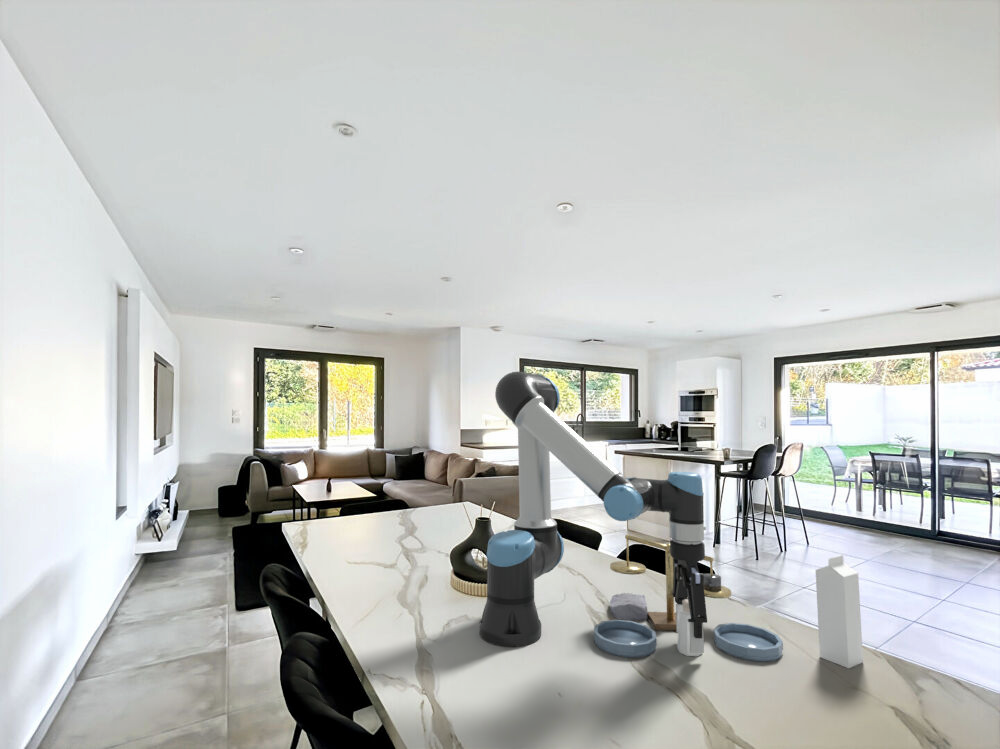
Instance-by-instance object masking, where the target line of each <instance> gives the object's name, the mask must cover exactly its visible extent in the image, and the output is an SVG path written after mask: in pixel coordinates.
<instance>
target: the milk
mask: <svg viewBox="0 0 1000 749" xmlns="http://www.w3.org/2000/svg"><path fill="white" fill-rule="evenodd" d="M859 579H860V578H859V572H857V571H856V570H855V569H854V568H852V567H850V566H849V565H848V564H847V563H846V562H844V555H843V554H842V555H837V556H832V557H829V558H828V565H826V566H822V567H820V568H817V569H815V585H816V586H815V587H816V588H815V589H816V606H817V622H818V623H817V626H818V627H817V628H818V630H817V631H818V645H819V647H818V649H819V657H820V658H821V659H824V660H825V661H829V662H830V663H834V664H836V665H839V666H842V667H843V668H846V669H850V668H851V669H852V668H853V667H856V666H858V665H860V664H862V663H864V654H863V653H864V652H863V651H864V650H863V636H862V618H861V617H862V616H861V615H862V614H861V601H860V599H861V596H860V583H859V581H860V580H859Z"/></svg>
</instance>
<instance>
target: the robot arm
mask: <svg viewBox="0 0 1000 749" xmlns="http://www.w3.org/2000/svg"><path fill="white" fill-rule="evenodd" d="M494 396H495V397H494V398H495V400H496V401H495V402H496V404H497V406H498V408H499V409H500V411H501V412H502V414H503V413H504V415H505V416H506V417H507V418H508V419H509V420H510V421H511V423H512V425H514V427H516V428H517V443H518V444H517V447H518V449H517V450H518V492H519V493H518V495H519V496H518V500H519V501H518V503H519V517H518V518H517V519H516V521H515V522H514V525H513V529H509V530H506V531H504V530H503V531H500V532H496V533H495V534H493V535H492V536H491V537H490V538H489V539H488V541H487V542H488V543H487V550H486V563H487V564H486V567H487V568H486V570H487V571H486V575H487V576H486V578H487V579H486V601H485V605H484V608H483V612H482V616H481V619H480V622H479V636H480V637H481V639H483V641H486V642H487V643H490V644H493V645H495V646H501V647H502V646H503V647H520V646H527V645H530V644H533V643H535V642H536V641H539V640H540V638H541V637H542V622H541V620H540V618H539V614H538V611H537V606H536V602H535V580H536V579H538V578H539V577H541V576H543V575H545V574H547V573H550V572H551V571H552V570H554V569H555V568H556V567H557V565H559V564H560V562H561V561H562V558H563V556H564V551H565V544H564V539H563V537H562V535H561V534H560V533H559V531H558V523H557V521H556V520H555V519H554V518H553V517H552V506H551V505H552V504H551V498H552V497H551V467H550V466H551V465H550V463H551V462H550V459H551V458H550V454H552V455H553V456H554V457H555V458H557V460H559V461H560V462H561V463H562V464H563V465H564V466H565V467H566V468H567V469H568V470H569V471H570V472H571V473H572V474H574V475H575V477H577V479H578V480H579V481H581V482H582V483H583V484H584V485H585V486H586V487H587V488H588V489H589V490H590V491H591V492H592V493H593V494H595V495H596V496H597V497H598V499H599V500H601V501H602V503H603V506H604V510H605V513H606V514H607V515H608V516H609V517H611V518H612V519H613V520H615V521H619V522H627V521H632V520H635V519H636V518H638V517H639V516H640V515H642V514H644V513H646V512H647V511H648V512H659V513H660V512H661V513H668V515H669V519H668V524H669V526H668V527H669V528H668V529H669V530H668V531H669V532H668V533H669V538H670V539H671V540H670V541H669V543H670V555H671V556H672V557H673V594H672V595H673V597H674V603H675V613H676V631H675V632H676V633H677V634H679V621H680V611H682V610H683V604H682V600H685V599H688V603H689V609H690V615H691V619H688V622H689V628H690V652H691V653H702V654H704V653H705V649H704V648H705V647H704V646H705V645H704V644H705V642H704V641H705V640H704V623H706V624H707V623H708V615H707V606H706V605H707V604H706V597H705V594H704V575H703V574H704V573H702V572H701V573H700V568H698V562H702V561H705V560H704V558H705V556H706V554H705V553H706V550H705V543H704V542H703V541H704V540H705V530H706V529H707V527H706V526H705V524H704V522H705V521H704V517H705V516H704V491H703V490H704V489H703V479H702V476H701V475H700V474H699V473H696V472H690V471H688V472H687V471H671V472H669V473H668V476H667V479H651V478H639V477H635V476H632V477H626V476H625V475H624V474H622V472H620V471H619V470H618V469H617V468H616V467H615V466H614V465H613V464H612V463H611V462H609V461H608V460H607V459H606V458H605V457H604V456H603V455H601V454H600V452H599V451H597V450H596V449H595V448H594V447H593V446H591V445H590V444H589V442H587V441H586V440H585V439H584V438H583V437H582V436H580V435H579V434H578V433H577V432H576V431H575V430H574V429H573V428H571V427H570V425H568V424H567V423H566V422H565V421H563V420H562V419H561V418H560V417H559V416H558V415H556V413H555V411H556V410H557V409H558V407H559V405H560V400H561V395H560V391H559V389H558V386H557V384H555V382H554V381H553V380H552V379H550V378H548V377H546V376H544V375H542V374H536V373H529V372H525V371H512V372H509V373H507V374H505V375H504V376H503V377H502V378H500V380H499V381H498V383H497V385H496V386H495V395H494Z"/></svg>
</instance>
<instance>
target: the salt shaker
mask: <svg viewBox="0 0 1000 749" xmlns="http://www.w3.org/2000/svg"><path fill="white" fill-rule="evenodd" d="M682 604H683V610H682V611H680V621H679V634H678V636H677V650H678V652H679V653H680V654H681V655H682V654H683V655H685V656H687V657H695V658H697V657H700V656H702V655H703V653H691V652H690V628H689V622H688V619H691V615H690V609H689V603H688V599H685V600H682Z"/></svg>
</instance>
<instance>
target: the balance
mask: <svg viewBox="0 0 1000 749" xmlns="http://www.w3.org/2000/svg"><path fill="white" fill-rule="evenodd" d="M624 537H625V539H626V560H619V561H614V562H611V563H610V565H609V569H610V570H611V571H613V572H614V573H618V574H622V575H631V576H632V575H642V574H644V573H646V572H647V567H646V566H645V565H644V564H642V563H639V562H635V561H630V559H629V556H630V554H629V553H630V549H629V546H630V545H629V541H632V542H636V543H639V544H643V545H647V546H650V547H654V548H657V549H660V550H664V551H665V585H666V586H665V587H666V588H665V591H666V596H665V597H666V611H663V612H661V611H647V620H648V621H649V623H650V625H651V626H652V628H653V629H654V631H666V632H667V631H668V632H669V631H670V632H677V631H676V612H675V597H673V595H672V594H673V575H674V561H673V557H672V556H671V555H670V542H669V543H666V544H664V543H661V542H656V541H652V540H649V539H646V538H641V537H637V536H634V535H630V534H626V535H625V536H624ZM703 561H705V562H709V564H710V566H709V569H710V573H703V575H704V594H705V598H706V597H707V598H711V599H727V598H730V597H732V590H731V589H730V588H728V587H726V586H724V585H722V576H720V575H719V574H715V573H713V562H714V561H715V560H714V557H712V556H707V555H705V558H704V560H703Z"/></svg>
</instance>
